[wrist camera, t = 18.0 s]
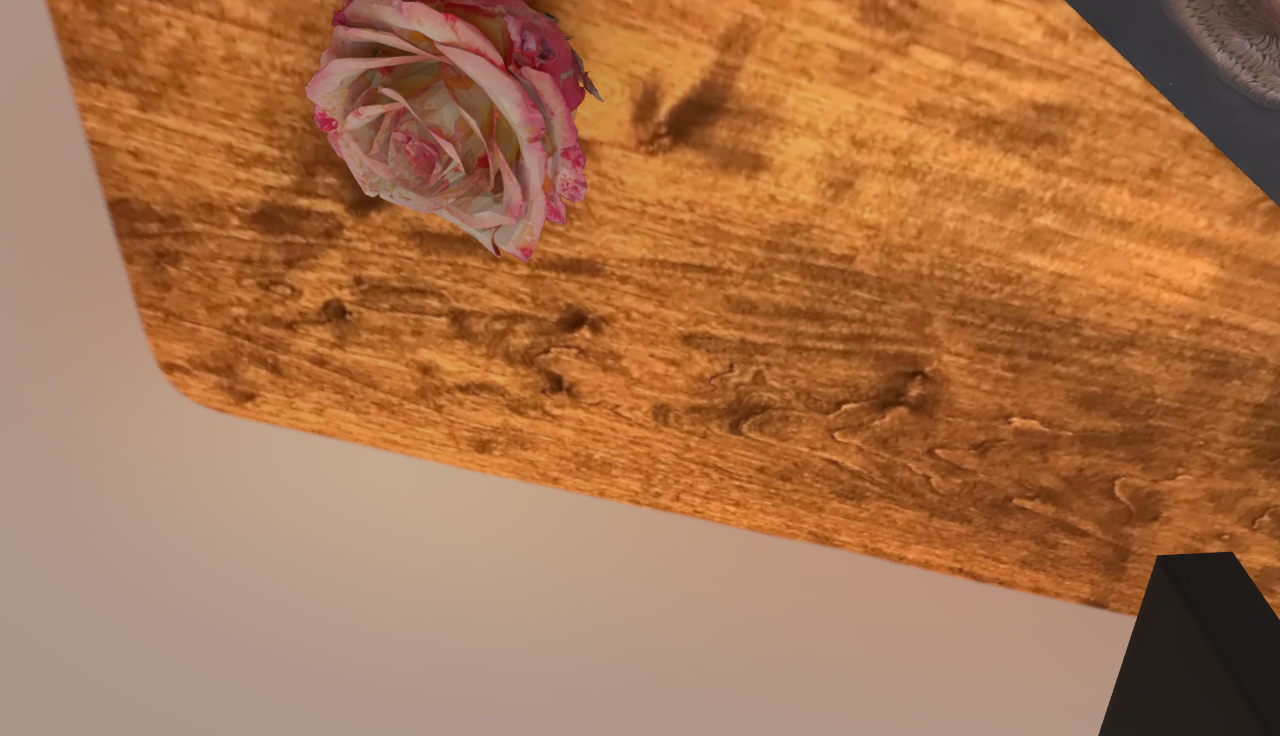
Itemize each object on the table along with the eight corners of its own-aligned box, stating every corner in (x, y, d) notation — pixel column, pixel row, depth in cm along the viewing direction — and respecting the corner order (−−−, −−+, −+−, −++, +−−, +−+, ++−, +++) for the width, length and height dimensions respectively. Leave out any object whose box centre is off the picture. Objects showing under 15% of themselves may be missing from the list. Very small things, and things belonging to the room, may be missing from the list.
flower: (531, -170, 35) (354, -38, 30) (726, 89, 37) (589, 245, 33) (380, -19, 42) (219, 106, 38) (551, 188, 45) (420, 327, 40)
